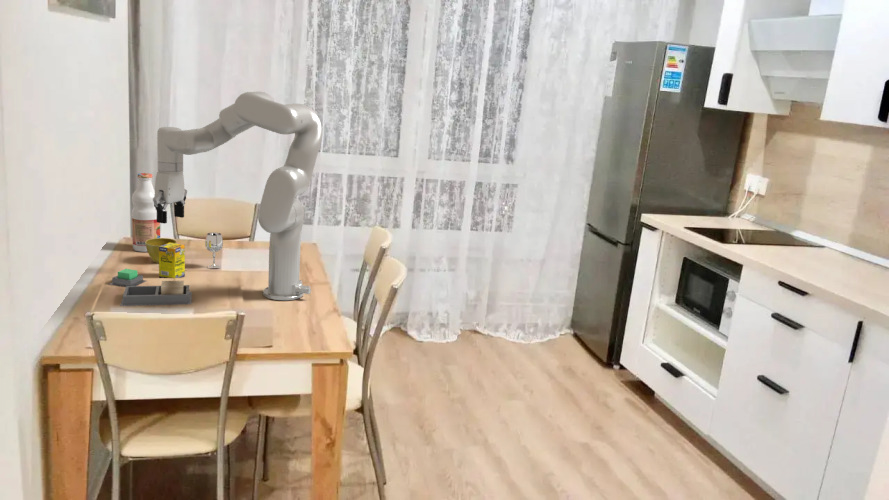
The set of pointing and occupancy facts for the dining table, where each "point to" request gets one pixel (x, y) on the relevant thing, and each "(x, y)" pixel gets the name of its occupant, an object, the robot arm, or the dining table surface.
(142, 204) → the fruit juice
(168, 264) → the supplement box
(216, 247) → the wineglass
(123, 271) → the button
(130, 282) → the button housing
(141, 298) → the divided grey tray
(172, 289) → the block
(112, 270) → the dining table surface
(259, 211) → the robot arm
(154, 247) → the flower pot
